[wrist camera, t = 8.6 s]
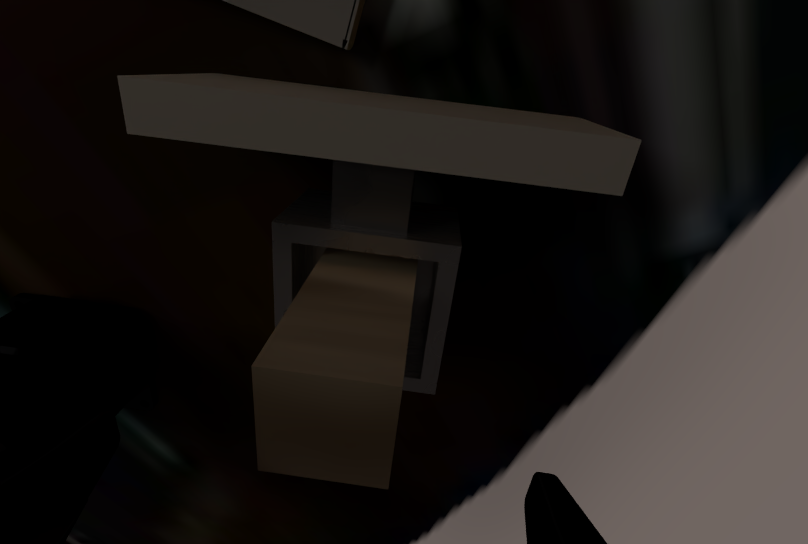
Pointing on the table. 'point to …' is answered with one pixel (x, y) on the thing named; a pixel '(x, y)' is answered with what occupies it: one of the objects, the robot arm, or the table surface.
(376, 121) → the board
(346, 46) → the baseboard molding
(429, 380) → the square open holder
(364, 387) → the rail post
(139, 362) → the robot arm
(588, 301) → the table surface
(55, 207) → the table surface
